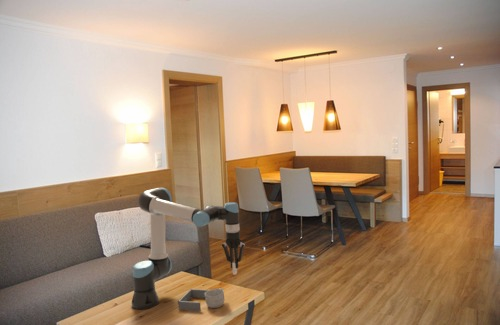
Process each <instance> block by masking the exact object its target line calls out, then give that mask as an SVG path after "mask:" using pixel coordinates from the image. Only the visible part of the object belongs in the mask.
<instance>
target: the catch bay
mask: <svg viewBox="0 0 500 325" xmlns="http://www.w3.org/2000/svg"><path fill="white" fill-rule="evenodd" d="M208 290H209V289H195V288H190V289H189V290H188V291H187V292H186V293H185V294H184V295H182V297H181V298H180V299H179V300H178V301H177V307H178V308H177V309H178V310H181V311H182V310H183V311H196V312H200V311H201V302H200V301H190V299H192V298H199V299H200V298H201V299H205V295H204V294H205V292H206V291H208Z"/></svg>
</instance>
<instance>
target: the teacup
mask: <svg viewBox="0 0 500 325" xmlns="http://www.w3.org/2000/svg"><path fill="white" fill-rule="evenodd" d="M207 290H208V291H206V292H205V294H204V295H205V298H204V300H205V304H206V306H208V307H209V308H211V309H219V308H220V307H222V306H223V305H224V303H225V291H224V289H223V288H222V287H219V288H213V289H207Z"/></svg>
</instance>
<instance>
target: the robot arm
mask: <svg viewBox="0 0 500 325" xmlns="http://www.w3.org/2000/svg"><path fill="white" fill-rule="evenodd" d="M172 200H173V198H172V194H171V192H170V191H169V190H168V189H167V188H165V187H156V188H152V189H148V190H144V191H143V192H141V193H140V194H139V196H138V198H137V206H138V207H139V208H140V210H142V211H144V212H146V213H149V214H150V253H149V255H148V258H147V260H143V261H138V262H137V263H135V264H134V265H133V267H132V283H133V284H132V285H133V293H132V294H133V295H132V299H131V307H132V308H133V309H135V310H146V309H148V310H149V309H151V308H154V307H156V306H158V305H159V303H160V297H159V295H158V293H157V291H156V285H155V282H156V281H158V280H159V279H161V278H163V277H165V276H167V275H169V273H170V272H171V271H172V267H173V263H172V260H171V258H170V257H169V254H168V253H167V251H166V246H167V245H166V230H167V229H166V217H167V216H168V217H171V218H176V219H179V220H183V221H187V222H190V223H193V224H194V226H196V227H199V228H200V227H205V226H206V225H209V224H210V223H211V224H212V223H213V222H215V221H224V222H225V224H224V225H225V231H226V232H225V238H226V239H225V242H223V243H222V244H221V247H222V248H223V251H224V253H225V258H226V261H227V262H230V269H232V275H237V274H238V268H239V262H241V261H242V259H243V253H244V248H245V246H246V243H244V242H242V240H241V232H240V231H241V229H240V215H239V214H240V210H239V204H238V202H231V201H230V202H225V204H224V205H223V206H219V205H216V206H215V205H208V206H205V208H204V209H200V208H196V207H192V206H188V205H186V204H185V205H184V204H180V203H177V202H172ZM239 247H240V249H239Z"/></svg>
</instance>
